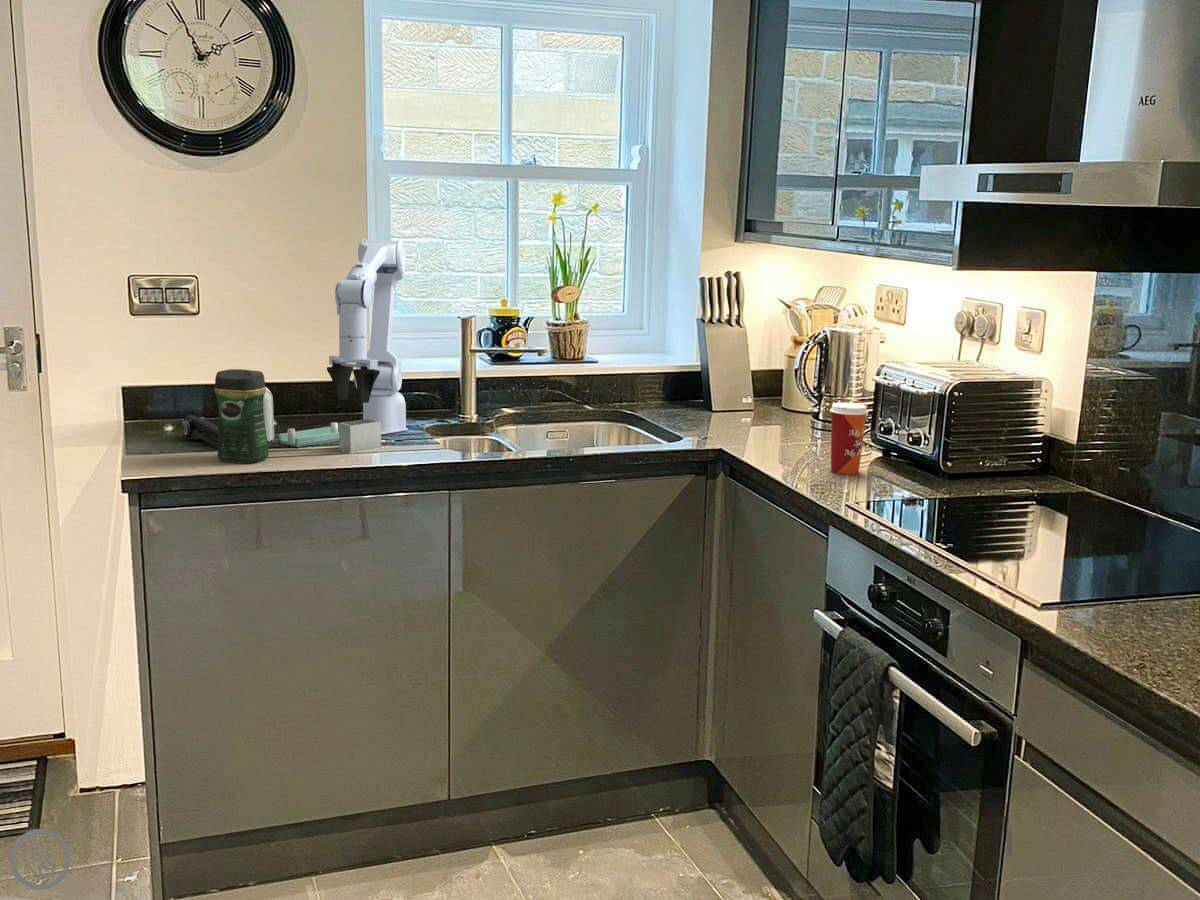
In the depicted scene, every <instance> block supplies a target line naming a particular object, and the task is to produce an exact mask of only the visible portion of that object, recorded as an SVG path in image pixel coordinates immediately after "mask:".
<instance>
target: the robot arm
mask: <svg viewBox="0 0 1200 900" xmlns="http://www.w3.org/2000/svg"><path fill="white" fill-rule="evenodd" d="M357 255H358V256H357V257H358V262H356V263H355V264H354V265H353V266H352V267H351V269H350V271H349V272H348V274H347V276H346V277H345V279H340V281H337V282H336V284H335V289H334V297H335V298H334V299H335V303H336V304H335V305H336V313H337V315H338V329H339V330H338V339H339V340H338V344H339V345H338V347H339V348H338V355H328V360H329V361H328V364H329V365H330V366H327V367H326V371H327V373H328V374H329V376H330V379H331V380H332V384H333V386H334V390H335V394H336V397H337V400H339V401H342V400H348V398H349V388H350V387H349V386H350V380H351V375H352V373H353V376H354V384H355V387H356V388H355V389H357V400H358V403H359V404H362V406H363V407H362V415H363V417H362V418H363V419H362V420H364V419H373V420H377V421H381V435H387V434H392V433H393V434H394V433H399V432H400V433H401V432H406V431H408V430H409V428H408V427H407V414H406V413H407V407H406V401H405V397H404V395H403V394H402V393H401V392H399V391H400V390H401V389H402V384H403V382H402V381H403V374H402V373H403V372H402V362H401V360H400V359H399V357H398V356H396V355H395V354H394V353H392V351H391V348H392V346H391V345H392V337H393V336H392V333H393V322H394V321H393V319H394V306H395V294H396V287H397V283H398V282H399V281H401V280H403V279H404V275H405V272H406V271H405V270H406V260H407V254H406V246H405V243H404V242H403V240H401V239H398V240H392V239H391V240H388V239H387V240H386V239H383V240H382V239H366V238H362V239H361V240H360V241H359V244H358V250H357ZM373 287H374V288H373ZM372 288H373V289H374V290H373V292H372ZM372 293H373V303H372V304H373V305H372V315H371V329H370V341H369V349H368V346H367V345H368V344H367V343H368V342H367V340H368V338H367V337H368V332H367V331H368V330H367V329H368V328H367V327H368V320H367V319H368V308H369V306H370V304H371V298H372V297H371V296H372ZM367 349H368V350H367ZM354 368H355V369H354Z"/></svg>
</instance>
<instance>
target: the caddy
mask: <svg viewBox="0 0 1200 900" xmlns="http://www.w3.org/2000/svg"><path fill="white" fill-rule="evenodd" d="M337 441H339V423H338V422H330V426H326V427H319V428H317V427H316V428H313V429H311V428H310V429H305V430H304V429H303V430H297V431H296V429H295V428H288V429H287V432H285V433H278V443H279V442H280V443H284V444H288V445H293V446H296V447H300V446H307V445H314V446H316V445H315V444H320V445H324V444H323V443H327V444H332V443H331V442H333V443H338V442H337ZM280 443H279V444H280ZM284 444H283V445H284ZM288 445H287V446H288Z"/></svg>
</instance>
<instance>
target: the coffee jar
mask: <svg viewBox="0 0 1200 900" xmlns="http://www.w3.org/2000/svg"><path fill="white" fill-rule="evenodd" d="M265 381H266V380H265V375H264V373H263V372H262V371H261V370H250V369H239V368H238V369H237V368H233V369H232V368H231V369H223V370H220V371H217V373H216V374H215V381H214V393H215V396H216V399H217V404H218V427H219V431H218V436H217V439H218V449H217V457H218V459H219V460H220V461H221V462H222V461H223V462H227V461H229V462H228V463H236V462H240V464H244V463H245V464H247V463H253V462H258V461H260V462H263V461H264V460H266V459H267V458H268V457H269V444H268V442H267V436H266V429H265V420H264V410H263V399H264V395H265V392H266V388H267V387H266V386H267V385H266V382H265ZM262 460H263V461H262Z"/></svg>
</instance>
